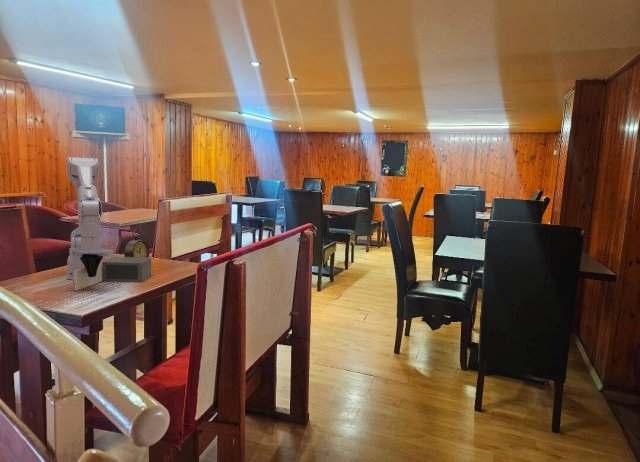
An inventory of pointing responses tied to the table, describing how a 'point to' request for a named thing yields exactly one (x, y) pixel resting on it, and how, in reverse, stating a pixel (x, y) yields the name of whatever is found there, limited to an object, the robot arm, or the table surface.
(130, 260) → the housing
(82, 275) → the door
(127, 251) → the alarm clock
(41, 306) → the table surface
